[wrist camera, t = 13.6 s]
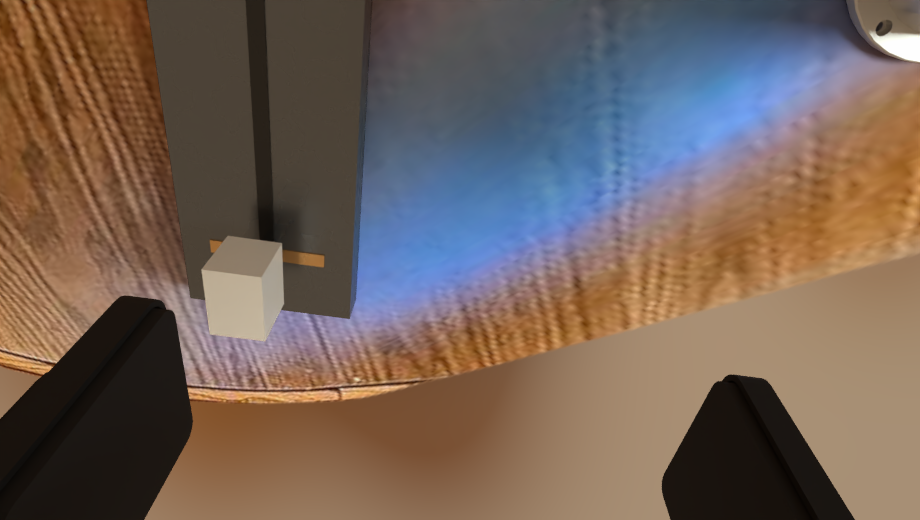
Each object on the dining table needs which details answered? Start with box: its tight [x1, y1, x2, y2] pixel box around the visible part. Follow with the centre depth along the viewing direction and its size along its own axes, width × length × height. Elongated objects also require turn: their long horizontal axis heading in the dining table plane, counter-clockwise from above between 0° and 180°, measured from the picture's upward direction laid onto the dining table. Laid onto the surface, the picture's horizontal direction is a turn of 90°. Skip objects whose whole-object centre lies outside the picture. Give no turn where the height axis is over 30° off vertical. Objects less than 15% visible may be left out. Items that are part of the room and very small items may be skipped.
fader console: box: [147, 0, 372, 319], centre depth 35 cm, size 28×12×3 cm, turn 172°
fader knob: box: [201, 236, 284, 341], centre depth 36 cm, size 5×4×6 cm
